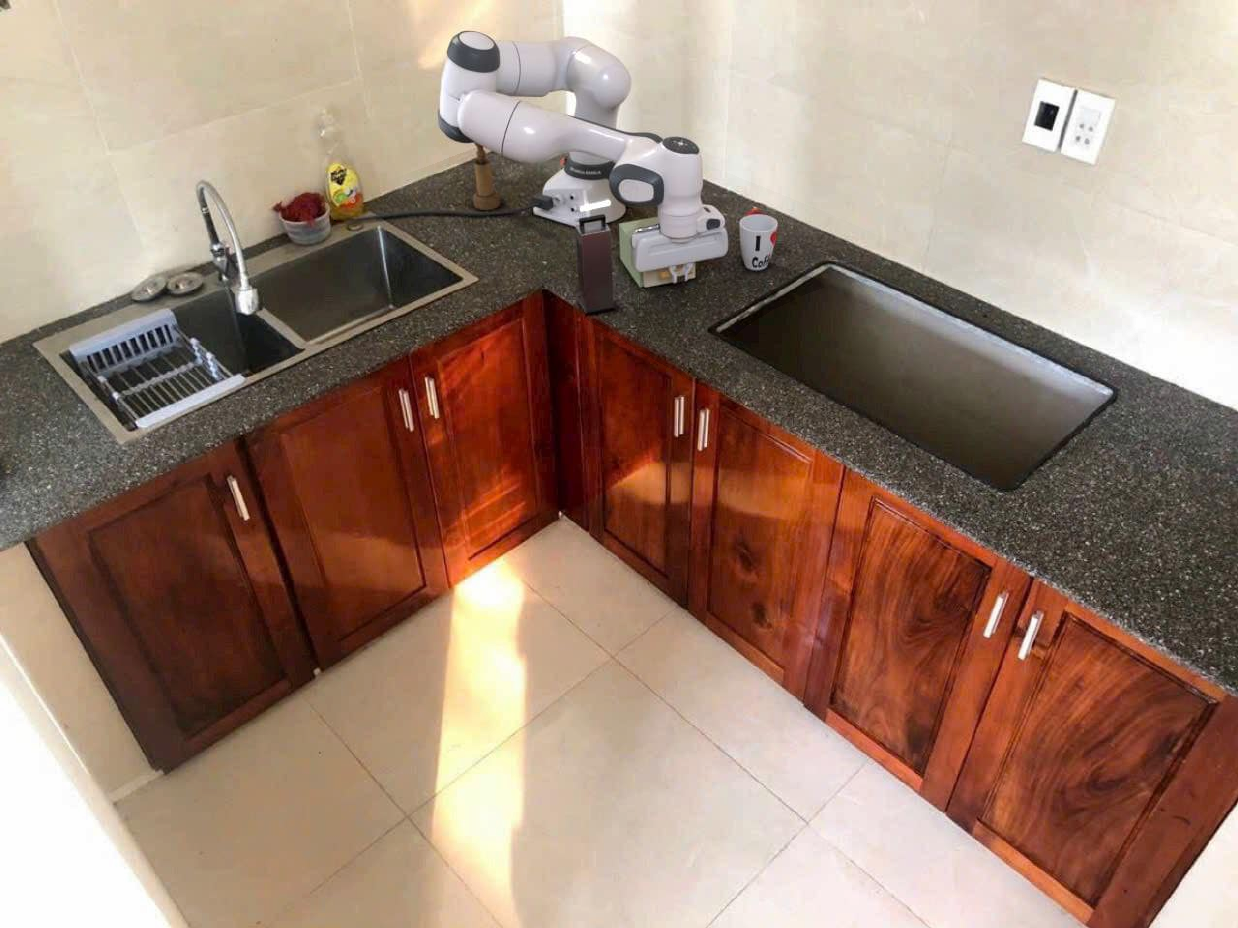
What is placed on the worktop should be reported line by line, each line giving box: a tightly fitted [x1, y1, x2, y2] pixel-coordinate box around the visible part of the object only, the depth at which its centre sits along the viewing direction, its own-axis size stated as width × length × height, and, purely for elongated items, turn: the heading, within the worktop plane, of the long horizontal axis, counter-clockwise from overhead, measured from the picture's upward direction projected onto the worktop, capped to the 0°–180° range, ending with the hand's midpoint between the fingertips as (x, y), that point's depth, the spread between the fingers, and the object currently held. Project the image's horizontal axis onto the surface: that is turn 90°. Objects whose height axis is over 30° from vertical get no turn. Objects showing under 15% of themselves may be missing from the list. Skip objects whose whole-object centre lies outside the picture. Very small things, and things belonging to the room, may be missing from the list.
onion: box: [744, 205, 766, 217], centre depth 227 cm, size 6×6×8 cm
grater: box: [574, 214, 616, 317], centre depth 202 cm, size 5×6×20 cm
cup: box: [739, 214, 778, 271], centre depth 217 cm, size 8×8×10 cm
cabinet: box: [618, 216, 658, 288], centre depth 218 cm, size 14×13×9 cm
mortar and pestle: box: [472, 142, 501, 211], centre depth 241 cm, size 7×6×18 cm
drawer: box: [643, 262, 696, 288], centre depth 214 cm, size 17×11×7 cm
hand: (679, 281), depth 208 cm, fingers closed
